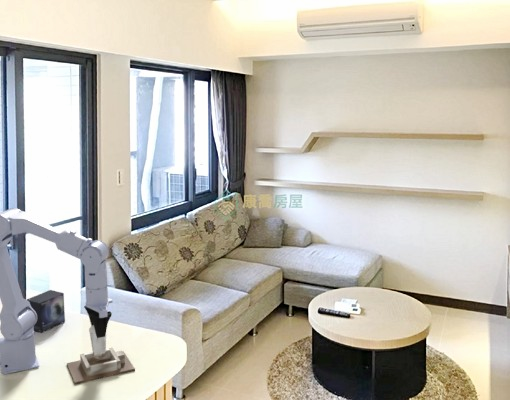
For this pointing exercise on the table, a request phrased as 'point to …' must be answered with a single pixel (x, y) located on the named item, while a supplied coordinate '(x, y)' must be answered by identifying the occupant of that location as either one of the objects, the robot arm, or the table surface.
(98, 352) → the milkshake
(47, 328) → the small box
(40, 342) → the table surface
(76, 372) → the pocket plate
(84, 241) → the robot arm
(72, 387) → the table surface
